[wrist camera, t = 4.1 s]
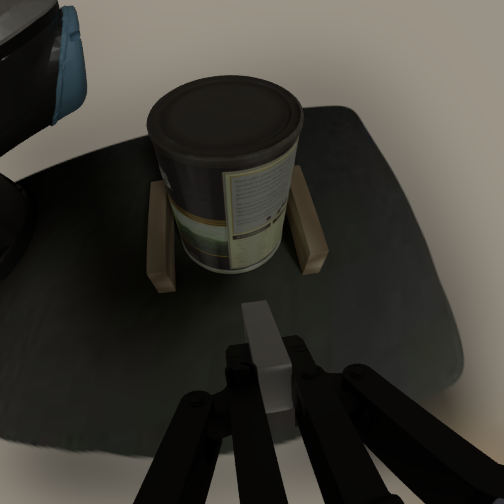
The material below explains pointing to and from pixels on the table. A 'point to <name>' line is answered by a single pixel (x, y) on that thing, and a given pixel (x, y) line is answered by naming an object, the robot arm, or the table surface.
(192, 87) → the coffee can
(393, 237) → the table surface
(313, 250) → the chute
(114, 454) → the table surface
